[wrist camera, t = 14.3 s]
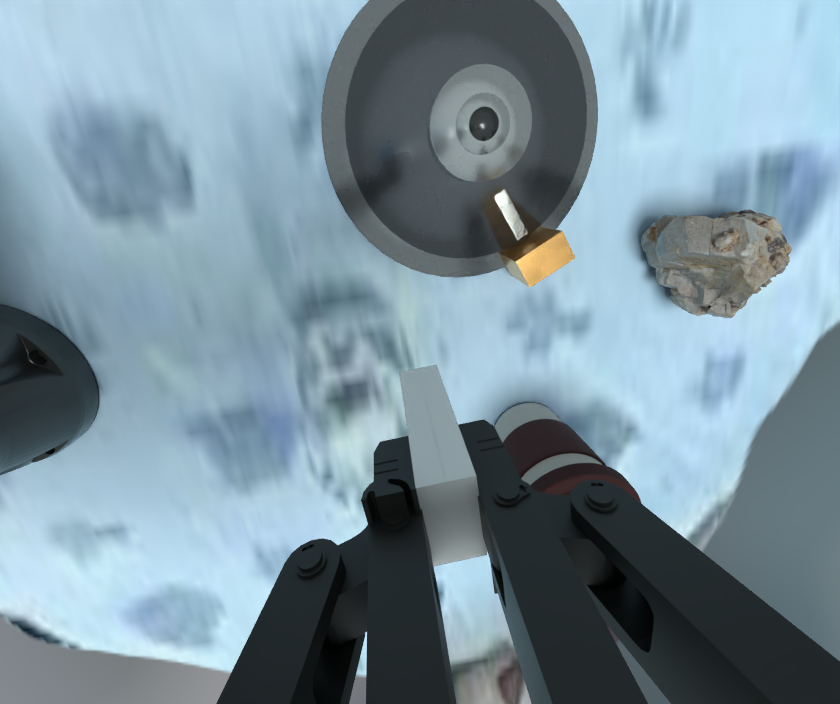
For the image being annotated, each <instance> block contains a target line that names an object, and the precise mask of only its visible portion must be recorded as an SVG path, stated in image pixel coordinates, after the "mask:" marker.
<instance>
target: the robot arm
mask: <svg viewBox="0 0 840 704" xmlns="http://www.w3.org/2000/svg"><path fill="white" fill-rule="evenodd" d="M400 380H401V387H402V394H403V401H404V408H405V416H406V423H407V430H408V436H406V437H401V438H397V439H392V440H387V441H382V442H380V443H379V445H378V446H377V448H376V450H375V452H374V482H373V483H371V484H370V485H369V486H368V487H367V488H366V490H365V491H364V492H363V496H362V499H361V501H362V505H363V508H364V511H365V515H366V518H367V522H368V525H367V527H366V528H365V529H364V530H363V531H362V532H361V533H360V534H358V535H357V536H355V537H353V538H352V539H350V540H348V541H346V542H344V543H342V544H340V545H336V544H335V543H334V542H333V541H331V540H327V539H317V540H311V541H309V542H307V543H305V544H303V545H301V546H300V547H299V548H297V549H296V550H295V551H294V552H293V553H292V554H291V555H290V557H289V558H288V559H287V561H286V562H285V564H284V566H283V568H282V570H281V572H280V574H279V576H278V578H277V580H276V582H275V585H274V587H273V589H272V591H271V593H270V595H269V597H268V599H267V601H266V603H265V605H264V607H263V609H262V611H261V613H260V615H259V617H258V619H257V621H256V624H255V626H254V628H253V630H252V632H251V634H250V636H249V638H248V640H247V642H246V644H245V646H244V648H243V650H242V652H241V654H240V656H239V658H238V660H237V663H236V665H235V667H234V669H233V671H232V673H231V675H230V677H229V679H228V681H227V683H226V685H225V687H224V689H223V691H222V693H221V695H220V697H219V699H218V702H217V704H349V701H350V696H351V692H352V688H353V684H354V680H355V676H356V672H357V667H358V663H359V659H360V655H361V651H362V646H363V642H364V638H365V632H367V680H366V681H367V682H366V704H456V698H455V692H454V686H453V680H452V673H451V667H450V661H449V655H448V649H447V643H446V637H445V630H444V624H443V618H442V612H441V606H440V600H439V593H438V587H437V582H436V578H435V573H434V567H433V566H438V565H442V564H447V563H451V562H456V561H461V560H465V559H470V558H474V557H479V556H484V555H487V551H488V554H489V557H490V562H491V569H492V577H493V584H494V591H495V594H496V593H498V595H499V598H500V601H501V605H502V608H503V611H504V614H505V618H506V621H507V624H508V627H509V631H510V634H511V637H512V641H513V644H514V647H515V650H516V654H517V657H518V660H519V663H520V667H521V670H522V673H523V677H524V680H525V683H526V686H527V690H528V693H529V696H530V699H531V703H532V704H648V703H647V701H646V699H645V697H644V695H643V693H642V692H641V690H640V688H639V686H638V684H637V682H636V681H635V678H634V676H633V675H632V673H631V671H630V669H629V667H628V665H627V663H626V661H625V660H624V658H623V656H622V654H621V652H620V650H619V648H618V646H617V645H616V643H615V641H614V639H613V637H612V635H611V633H610V631H609V630H608V628H607V626H606V624H607V625H608V626H609V627H610V628H611V630H612V631H613V632H614V633H615V635H616V636H617V637H618V638H619V640H620V641H621V642H622V643H623V645H624V646H625V647H626V648H627V650H628V651H629V652H630V653H631V654H632V656H633V657H634V658H635V659H636V661H637V662H638V663H639V664H640V666H641V667H642V668H643V669H644V670H645V672H646V673H647V674H648V675H649V677H650V678H651V679H652V680H653V682H654V683H655V684H656V685H657V686H658V688H659V689H660V690H661V692H662V693H663V694H664V695H665V696H666V698H667V699H668V700H669V701H670V703H671V704H840V661H838V660H837V659H836V658H834V657H833V656H832V655H831V654H830V653H828V652H827V651H826V650H824V649H823V648H822V647H821V646H819V645H818V644H817V643H816V642H815V641H813V640H812V639H811V638H809V637H808V636H807V635H805V634H804V633H803V632H802V631H801V630H799V629H798V628H797V627H796V626H794V625H793V624H792V623H791V622H789V621H788V620H787V619H785V618H784V617H783V616H782V615H780V614H779V613H778V612H777V611H775V610H774V609H773V608H772V607H770V606H769V605H768V604H767V603H765V602H764V601H763V600H762V599H760V598H759V597H758V596H757V595H755V594H754V593H753V592H752V591H750V590H749V589H748V588H747V587H745V586H744V585H743V584H741V583H740V582H739V581H738V580H736V579H735V578H734V577H733V576H731V575H730V574H729V573H728V572H726V571H725V570H724V569H723V568H721V567H720V566H719V565H717V564H716V563H715V562H714V561H712V560H711V559H710V558H709V557H707V556H706V555H705V554H704V553H702V552H701V551H700V550H699V549H697V548H696V547H695V546H694V545H692V544H691V543H690V542H689V541H687V540H686V539H685V538H684V537H682V536H681V535H680V534H679V533H677V532H676V531H675V530H674V529H672V528H671V527H670V526H668V525H667V524H666V523H665V522H663V521H662V520H661V519H660V518H658V517H657V516H656V515H655V514H653V513H652V512H651V511H650V510H648V509H647V508H646V507H645V506H643V505H642V504H641V503H640V502H638V501H637V500H636V499H634V498H633V497H632V496H631V495H629V494H628V493H627V492H626V491H624V490H623V489H622V488H620V487H618V486H616V485H615V484H613V483H610V482H606V481H603V480H587V481H583V482H580V483H579V484H577V485H576V486H574V487H573V489H572V491H571V493H570V495H554V494H546V493H542V492H539V491H536V490H534V489H533V488H532V487H531V486H530V485H529V484H528V483H527V482H525V481H523V480H522V479H521V478H520V476H519V474H518V472H517V470H516V468H515V466H514V464H513V462H512V460H511V458H510V456H509V454H508V452H507V450H506V448H505V447H504V445H503V443H502V441H501V439H500V437H499V435H498V433H497V431H496V429H495V427H494V426H492V425H491V424H490V423H488V422H487V421H485V420H479V421H474V422H469V423H465V424H460V425H458V423H457V421H456V418H455V415H454V412H453V410H452V407H451V404H450V401H449V398H448V396H447V393H446V390H445V387H444V385H443V382H442V379H441V376H440V373H439V371H438V368H437V365H434V366H429V367H424V368H419V369H414V370H408V371H403V372H400ZM97 409H98V390H97V385H96V381H95V378H94V376H93V373H92V371H91V369H90V367H89V365H88V364H87V362H86V361H85V359H84V358H83V356H82V355H81V354H80V352H79V351H78V350H77V349H76V348H75V347H74V346H73V344H72V343H71V342H69V341H68V340H67V339H66V338H65V337H64V336H63V335H62V334H60V333H59V332H58V331H56V330H55V329H54V328H52V327H51V326H49V325H48V324H46V323H44V322H43V321H41V320H39V319H37V318H36V317H33V316H31V315H29V314H27V313H25V312H22V311H19V310H17V309H14V308H10V307H7V306H3V305H0V475H2V474H5V473H8V472H10V471H13V470H16V469H18V468H21V467H23V466H26V465H28V464H30V463H32V462H37V461H40V460H42V459H45V458H48V457H50V456H52V455H54V454H56V453H58V452H60V451H61V450H63V449H64V448H66V447H67V446H68V445H70V444H71V443H72V442H74V441H75V440H76V439H77V438H79V437H80V436H81V435H82V434H84V433H85V432H86V430H87V429H88V428H89V427H90V425H91V424H92V422H93V421H94V418H95V416H96V413H97ZM486 548H487V550H486ZM604 621H605V622H606V624H605V622H604Z"/></svg>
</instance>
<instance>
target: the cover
mask: <svg viewBox="0 0 840 704" xmlns="http://www.w3.org/2000/svg"><path fill="white" fill-rule="evenodd" d="M531 128H532V112H531V106H530V102H529V99H528V96H527V94H526V91H525V90H524V88H523V86H522V85H521V83H520V82H519V81H518V79H517V78H516V77H515V76H514V75H512V74H511V73H510V72H508V71H507V70H505V69H503V68H501V67H498V66H495V65H491V64H477V65H472V66H469V67H466V68H464V69H462V70H460V71H459V72H457V73H456V74H454V75H453V76H452V77H451V78H450V79H449V80H448V81H447V82H446V83H445V85H444V86H443V87H442V89H441V90H440V92H439V94H438V96H437V98H436V100H435V102H434V104H433V106H432V108H431V111H430V114H429V119H428V126H427V136H428V143H429V147H430V150H431V153H432V155H433V157H434V159H435V161H436V163H437V164H438V165H439V167H440V168H441V169H442V170H443V171H444V172H445V173H446V174H448V175H449V176H451V177H452V178H454V179H457V180H459V181H463V182H469V183H476V182H483V181H489V180H492V179H495V178H498V177H500V176H502V175H503V174H505V173H506V172H508V171H509V170H510V169H511V168H512V167H513V166H514V165H515V164H516V163H517V162H518V161H519V159H520V158H521V156H522V155H523V153H524V151H525V149H526V147H527V144H528V141H529V138H530V134H531Z"/></svg>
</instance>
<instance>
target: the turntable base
mask: <svg viewBox="0 0 840 704" xmlns="http://www.w3.org/2000/svg"><path fill="white" fill-rule="evenodd" d="M403 1H405V0H369V1H368V2H367V4H366V5H365V6H364V7H363V8H362V9H361V10H360V11H359V13H358V14H357V15H356V17H355V18H354V20H353V21H352V23H351V24H350V26H349V27H348V29H347V30H346V32H345V34H344V36H343V38H342V40H341V42H340V44H339V46H338V48H337V50H336V52H335V55H334V58H333V61H332V63H331V66H330V69H329V72H328V76H327V81H326V86H325V90H324V95H323V107H322V140H323V147H324V154H325V160H326V164H327V167H328V171H329V175H330V179H331V181H332V184H333V186H334V189H335V191H336V194H337V196H338V198H339V200H340V202H341V204H342V206H343V207H344V209H345V211H346V213H347V214H348V216H349V217H350V219H351V220H352V221H353V223H354V224H355V226H356V227H357V228H358V230H359V231H360V232H361V233H362V234H363V235H364V236H365V237H366V238H367V239H368V240H369V242H371V243H372V244H373V245H374V246H375V247H377V248H378V249H379V250H380V251H381V252H382V253H384V254H385V255H387V256H389V257H390V258H392V259H393V260H395V261H396V262H398V263H400V264H402V265H405V266H407V267H409V268H411V269H414V270H417V271H420V272H423V273H426V274H431V275H437V276H443V277H466V276H475V275H480V274H485V273H489V272H492V271H495V270H498V269H500V268H503V267H506V265H505V264H504V262H503V260H502V258H501V257H500V255H499V252H500V251H499V252H497V253H493V254H490V255H486V256H482V257H475V258H449V257H442V256H438V255H434V254H430V253H427V252H425V251H422V250H420V249H417V248H415V247H413V246H412V245H410V244H408V243H406V242H405V241H403V240H402V239H400V238H399V237H398V236H396V235H395V234H394V233H393V232H391V231H390V230H389V229H388V228H387V227H386V226H385V225H384V224H383V223H382V222H381V221H380V220H379V219H378V217H377V216H376V215H375V213H374V212H373V211H372V210H371V208H370V207H369V205H368V203H367V202H366V200H365V198H364V197H363V195H362V193H361V191H360V189H359V187H358V184H357V182H356V180H355V177H354V174H353V171H352V168H351V164H350V161H349V156H348V151H347V145H346V134H345V113H346V102H347V96H348V90H349V85H350V82H351V78H352V75H353V72H354V68H355V66H356V63H357V61H358V59H359V57H360V54H361V52H362V50H363V48H364V46H365V45H366V43H367V41H368V40H369V38H370V36H371V35H372V33H373V32H374V31H375V29H376V28H377V27H378V26H379V24H380V23H381V22H382V21H383V19H384V18H385V17H386V16H387V15H388V14H389V13H390V12H391V11H392V10H393V9H395V8H396V7H397V6H398V5H399V4H400V3H402V2H403ZM535 1H536V2H537V3H538V4H539V5H541V6H542V7H543V8H544V9H545V10H546V11H547V12H548V13H549V14H550V15H551V16H552V17H553V19H554V20H555V21H556V22H557V23H558V24H559V26H560V27H561V29H562V30H563V32H564V34H565V35H566V37H567V38H568V40H569V42H570V44H571V46H572V48H573V50H574V52H575V54H576V57H577V60H578V63H579V66H580V69H581V72H582V76H583V81H584V86H585V91H586V103H587V125H586V134H585V141H584V147H583V151H582V155H581V159H580V162H579V165H578V168H577V170H576V173H575V176H574V178H573V180H572V182H571V184H570V186H569V188H568V190H567V192H566V194H565V195H564V197H563V199H562V200H561V202H560V203H559V205H558V206H557V208H556V209H555V210H554V211H553V212H552V214H551V215H550V216H549V217H548V219H547V220H546V221H545V222H544V223H542V224H541V225H540V227H545V228H550V229H556V228H557V227H558V226H559V224H560V223H561V222H562V220H563V219H564V218H565V216H566V215H567V214H568V212H569V211H570V209H571V207H572V205H573V204H574V202H575V200H576V199H577V197H578V195H579V193H580V190H581V188H582V186H583V184H584V181H585V179H586V176H587V173H588V170H589V167H590V164H591V161H592V157H593V152H594V147H595V142H596V133H597V122H598V108H597V93H596V85H595V78H594V74H593V70H592V67H591V63H590V59H589V56H588V53H587V51H586V48H585V46H584V43H583V41H582V38H581V36H580V35H579V33H578V31H577V29H576V27H575V26H574V24H573V22H572V20H571V19H570V17H569V16H568V15H567V13H566V12H565V11H564V9H563V8H562V7H561V5H560V4H559V3H558V2H557V1H556V0H535Z"/></svg>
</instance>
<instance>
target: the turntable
mask: <svg viewBox="0 0 840 704" xmlns="http://www.w3.org/2000/svg"><path fill="white" fill-rule="evenodd" d="M477 64H491V65H495V66H498V67H501V68H503V69H505V70H507V71H508V72H510V73H511V74H512V75H514V76H515V77H516V78H517V79H518V81H519V82H520V83H521V85H522V86H523V88H524V90H525V91H526V94H527V96H528V99H529V102H530V106H531V112H532V128H531V134H530V138H529V141H528V144H527V147H526V149H525V151H524V153H523V155H522V156H521V158H520V159H519V161H518V162H517V163H516V164H515V165H514V166H513V167H512V168H511V169H510V170H509V171H508V172H506V173H505V174H503V175H502V176H500V177H498V178H495V179H492V180H489V181H483V182H476V183H469V182H463V181H459V180H457V179H454V178H452V177H451V176H449V175H448V174H446V173H445V172H444V171H443V170H442V169H441V168H440V167H439V165H438V164H437V163H436V161H435V159H434V157H433V155H432V153H431V150H430V147H429V143H428V136H427V126H428V119H429V114H430V111H431V108H432V106H433V104H434V102H435V100H436V98H437V96H438V94H439V92H440V90H441V89H442V87H443V86H444V85H445V83H446V82H447V81H448V80H449V79H450V78H451V77H452V76H453V75H454V74H456V73H457V72H459V71H460V70H462V69H464V68H466V67H469V66H472V65H477ZM586 125H587V103H586V91H585V86H584V81H583V76H582V72H581V69H580V66H579V63H578V60H577V57H576V54H575V52H574V50H573V48H572V46H571V44H570V42H569V40H568V38H567V37H566V35H565V34H564V32H563V30H562V29H561V27H560V26H559V24H558V23H557V22H556V21H555V20H554V19H553V17H552V16H551V15H550V14H549V13H548V12H547V11H546V10H545V9H544V8H543V7H542V6H541V5H539V4H538V3H537V2H536V1H535V0H405V1H403V2H402V3H400V4H399V5H398V6H397V7H396V8H395V9H393V10H392V11H391V12H390V13H389V14H388V15H387V16H386V17H385V18H384V19H383V21H382V22H381V23H380V24H379V26H378V27H377V28H376V29H375V31H374V32H373V33H372V35H371V36H370V38H369V40H368V41H367V43H366V45H365V46H364V48H363V50H362V52H361V54H360V57H359V59H358V61H357V63H356V66H355V68H354V72H353V75H352V78H351V82H350V85H349V90H348V96H347V102H346V113H345V134H346V145H347V151H348V156H349V161H350V164H351V168H352V171H353V174H354V177H355V180H356V182H357V184H358V187H359V189H360V191H361V193H362V195H363V197H364V198H365V200H366V202H367V203H368V205H369V207H370V208H371V210H372V211H373V212H374V213H375V215H376V216H377V217H378V219H379V220H380V221H381V222H382V223H383V224H384V225H385V226H386V227H387V228H388V229H389V230H390V231H391V232H393V233H394V234H395V235H396V236H398V237H399V238H400V239H402V240H403V241H405V242H406V243H408V244H410V245H412V246H413V247H415V248H417V249H420V250H422V251H425V252H427V253H430V254H434V255H438V256H442V257H449V258H475V257H482V256H486V255H490V254H493V253H497V252H499V251H500V252H499V255H500V257H501V258H502V260H503V262H504V264H505V265H506V267H507V269H508V271H509V272H510V274H511V276H513V277H515V278H516V279H518V280H519V281H521V282H522V283H524V284H525V285H527V286H529V287H531V286H533V285H535V284H536V283H538V282H539V281H541V280H542V279H544V278H545V277H547V276H548V275H550V274H552V273H553V272H555V271H556V270H558V269H559V268H561V267H562V266H564V265H565V264H567V263H569V262H570V261H572V260H573V259H575V256H574V254H573V252H572V250H571V248H570V246H569V244H568V242H567V240H566V238H565V236H564V234H563V232H562V231H559V230H555V229H550V228H545V227H540V225H541V224H542V223H544V222H545V221H546V220H547V219H548V217H549V216H550V215H551V214H552V212H553V211H554V210H555V209H556V208H557V206H558V205H559V203H560V202H561V200H562V199H563V197H564V195H565V194H566V192H567V190H568V188H569V186H570V184H571V182H572V180H573V178H574V176H575V173H576V170H577V168H578V165H579V162H580V159H581V155H582V151H583V147H584V141H585V134H586Z"/></svg>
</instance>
